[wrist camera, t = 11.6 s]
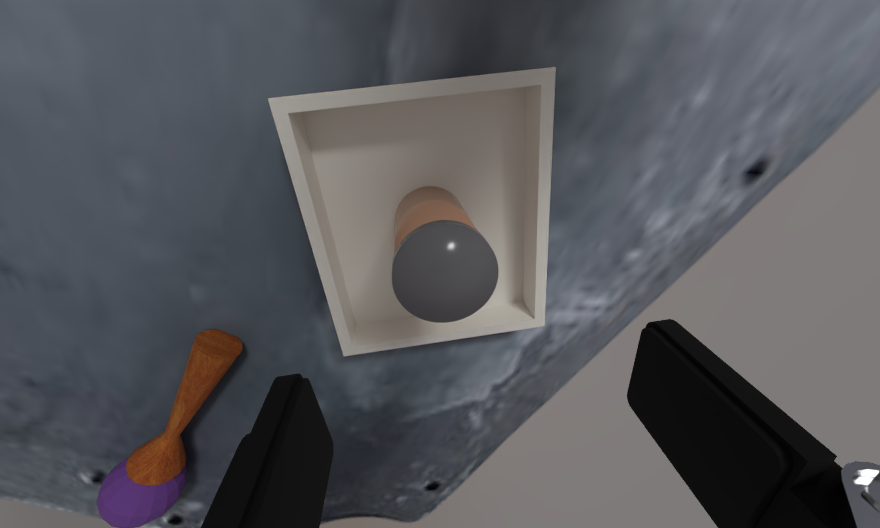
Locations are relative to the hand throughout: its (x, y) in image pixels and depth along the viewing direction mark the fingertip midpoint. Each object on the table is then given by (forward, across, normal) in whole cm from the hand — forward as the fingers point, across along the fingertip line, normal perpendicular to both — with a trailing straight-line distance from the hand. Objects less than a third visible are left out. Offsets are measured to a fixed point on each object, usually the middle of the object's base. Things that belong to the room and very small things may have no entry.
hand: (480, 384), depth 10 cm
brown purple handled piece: (+17, +24, +16) cm, 34 cm away
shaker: (+16, 0, +1) cm, 16 cm away
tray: (+17, 0, +1) cm, 17 cm away
